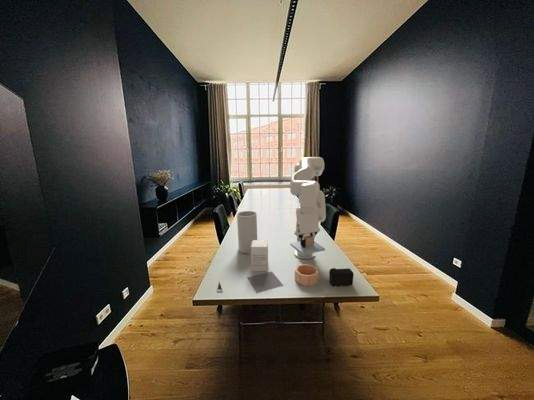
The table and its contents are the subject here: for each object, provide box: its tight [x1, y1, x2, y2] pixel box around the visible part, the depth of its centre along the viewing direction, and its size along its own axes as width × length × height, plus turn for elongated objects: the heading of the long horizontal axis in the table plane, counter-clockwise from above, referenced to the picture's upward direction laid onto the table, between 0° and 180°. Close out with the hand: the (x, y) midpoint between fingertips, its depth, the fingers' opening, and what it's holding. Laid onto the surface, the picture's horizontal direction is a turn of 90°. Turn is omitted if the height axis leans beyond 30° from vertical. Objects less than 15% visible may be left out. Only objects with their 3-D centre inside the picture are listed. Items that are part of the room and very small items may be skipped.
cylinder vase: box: [236, 210, 258, 254], centre depth 144 cm, size 12×12×25 cm
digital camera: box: [328, 267, 355, 288], centre depth 108 cm, size 10×5×7 cm, turn 94°
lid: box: [290, 234, 326, 255], centre depth 107 cm, size 12×12×6 cm
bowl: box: [294, 263, 319, 287], centre depth 111 cm, size 11×11×6 cm
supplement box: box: [250, 239, 269, 272], centre depth 122 cm, size 9×9×15 cm
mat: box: [246, 271, 285, 294], centre depth 110 cm, size 14×14×1 cm
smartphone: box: [216, 281, 224, 293], centre depth 111 cm, size 7×1×15 cm
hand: (307, 245), depth 107 cm, fingers closed on lid, 4 cm apart
